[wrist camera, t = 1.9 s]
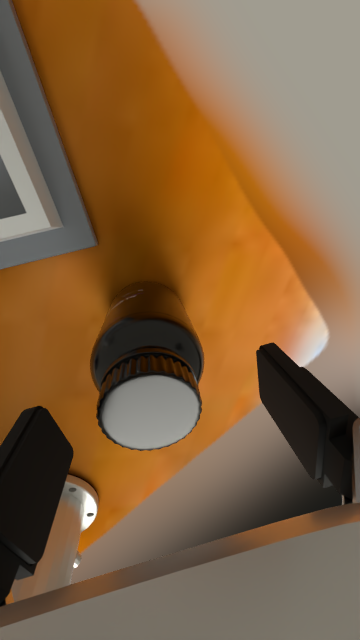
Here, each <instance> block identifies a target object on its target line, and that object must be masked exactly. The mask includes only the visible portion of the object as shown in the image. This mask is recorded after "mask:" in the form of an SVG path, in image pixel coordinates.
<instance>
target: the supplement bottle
mask: <svg viewBox="0 0 360 640" xmlns="http://www.w3.org/2000/svg"><path fill="white" fill-rule="evenodd" d="M203 369H204V353H203V349H202V346H201V343H200V341H199V338H198V336H197V334H196V332H195V330H194V328H193V326H192V324H191V321H190V319H189V317H188V315H187V313H186V311H185V309H184V307H183V305H182V303H181V301H180V299H179V298H178V297H177V295H176V294H175V293H174V292H173V291H172V290H170V289H169V288H168V287H166V286H164V285H162V284H159V283H155V282H138V283H135V284H132V285H129V286H128V287H126V288H124V289H123V290H122V291H121V292H119V294H118V295H117V296H116V297H115V299H114V300H113V302H112V304H111V306H110V308H109V311H108V313H107V315H106V318H105V320H104V323H103V325H102V327H101V330H100V332H99V335H98V337H97V340H96V342H95V344H94V347H93V351H92V354H91V359H90V371H91V376H92V379H93V382H94V384H95V386H96V388H97V390H98V391H99V399H98V402H97V414H96V417H97V419H98V425H99V427H100V428H102V433H104V434H105V435H106V436H107V438H108V439H110V440H112V441H113V442H114V443H115V444H119V445H120V446H122V447H126V448H129V449H131V450H134V449H137V450H140V451H142V450H153V449H161V448H163V447H168V446H170V445H171V444H174V443H177V442H178V441H179V440H181V439H183V438H185V437H186V435H187V434H189V433H191V431H192V429H193V428H194V427H195V426H196V425H197V421H198V420H199V419H200V413H201V412H202V408H201V405H202V400H201V397H200V392H199V389H198V383H199V381H200V379H201V377H202V373H203Z"/></svg>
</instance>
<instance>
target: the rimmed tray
mask: <svg viewBox="0 0 360 640" xmlns="http://www.w3.org/2000/svg"><path fill="white" fill-rule="evenodd" d="M97 245H98V242H97V239H96V236H95V233H94V231H93V228H92V225H91V222H90V219H89V216H88V214H87V211H86V208H85V205H84V202H83V200H82V197H81V194H80V191H79V188H78V185H77V183H76V180H75V177H74V174H73V171H72V169H71V166H70V163H69V160H68V157H67V154H66V152H65V149H64V146H63V143H62V140H61V138H60V135H59V132H58V129H57V126H56V124H55V121H54V118H53V115H52V112H51V109H50V107H49V104H48V101H47V98H46V95H45V93H44V90H43V87H42V84H41V81H40V78H39V76H38V73H37V70H36V67H35V64H34V62H33V59H32V56H31V53H30V50H29V48H28V45H27V42H26V39H25V36H24V33H23V31H22V28H21V25H20V22H19V19H18V17H17V14H16V11H15V8H14V5H13V2H12V0H0V269H3V268H8V267H12V266H16V265H20V264H24V263H28V262H32V261H36V260H40V259H44V258H48V257H52V256H56V255H61V254H65V253H69V252H73V251H77V250H81V249H85V248H89V247H93V246H97Z"/></svg>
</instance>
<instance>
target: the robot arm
mask: <svg viewBox="0 0 360 640" xmlns="http://www.w3.org/2000/svg"><path fill="white" fill-rule="evenodd" d="M256 356H257V368H258V380H259V392H260V398H261V401H262V403H263V404H264V406H265V407H266V409H267V410H268V412H269V414H270V415H271V417H272V418H273V420H274V421H275V423H276V424H277V426H278V427H279V429H280V431H281V432H282V434H283V435H284V437H285V438H286V440H287V441H288V443H289V445H290V446H291V448H292V449H293V451H294V452H295V454H296V456H297V457H298V459H299V460H300V462H301V463H302V465H303V466H304V468H305V469H306V471H307V472H308V474H309V475H310V477H311V478H312V479H317V480H318V481H319V483H320V484H321V486H322V487H323V488H325V487H329V486H332V485H333V486H334V487H335V489H336V490H337V492H338V493H339V494H341V495H342V506H337V507H332V508H327V509H323V510H320V511H316V512H312V513H309V514H305V515H301V516H298V517H294V518H290V519H287V520H283V521H279V522H276V523H273V524H269V525H266V526H262V527H259V528H256V529H253V530H249V531H246V532H242V533H239V534H236V535H232V536H229V537H226V538H222V539H219V540H216V541H212V542H209V543H206V544H202V545H199V546H195V547H192V548H189V549H186V550H182V551H179V552H176V553H172V554H169V555H166V556H163V557H159V558H156V559H153V560H149V561H146V562H143V563H140V564H136V565H133V566H130V567H127V568H123V569H120V570H117V571H113V572H110V573H107V574H104V575H100V576H97V577H94V578H91V579H88V580H84V581H81V582H78V583H75V584H71V585H70V583H71V578H72V573H73V568H75V567H77V566H78V565H79V563H80V561H81V554H80V553H79V552H78V551H77V548H78V543H79V538H80V533H81V532H82V531H84V530H85V529H86V528H87V527H88V526H89V525H90V524H91V523H92V522H93V521H94V519H95V517H96V515H97V510H98V501H99V499H98V496H97V493H96V492H95V490H94V488H92V487H91V486H90V485H89V484H88V483H87V482H85V481H83V480H82V479H80V478H77V477H75V476H72V475H68V472H69V468H70V465H71V462H72V458H73V448H72V446H71V445H70V443H69V442H68V440H67V439H66V437H65V436H64V434H63V433H62V431H61V430H60V428H59V427H58V425H57V423H56V422H55V420H54V419H53V417H52V416H51V414H50V413H49V411H48V410H47V409H46V408H43V407H41V406H36V407H33V408H29V409H26V410H24V411H23V412H22V413H21V415H20V416H19V418H18V419H17V421H16V423H15V424H14V426H13V427H12V429H11V430H10V432H9V433H8V435H7V437H6V438H5V440H4V441H3V443H2V444H1V446H0V640H360V418H359V417H358V416H357V415H356V414H354V413H353V412H352V411H351V410H350V409H349V408H348V407H347V406H346V405H345V404H344V403H343V402H342V401H340V400H339V399H338V398H337V397H336V396H335V395H334V394H333V393H332V392H330V390H328V389H327V388H326V387H325V386H324V385H323V384H322V383H321V382H320V381H319V380H318V379H317V378H315V377H314V376H313V375H312V374H311V373H310V372H309V371H308V370H307V369H305V368H304V367H299V366H298V365H297V364H296V363H295V362H294V361H293V360H292V359H291V358H289V357H288V356H287V355H286V354H285V353H284V352H283V351H282V350H281V349H280V348H279V347H278V346H277V345H276V344H275V343H269V344H265V345H262V346H260V348H259V350H257V351H256Z"/></svg>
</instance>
